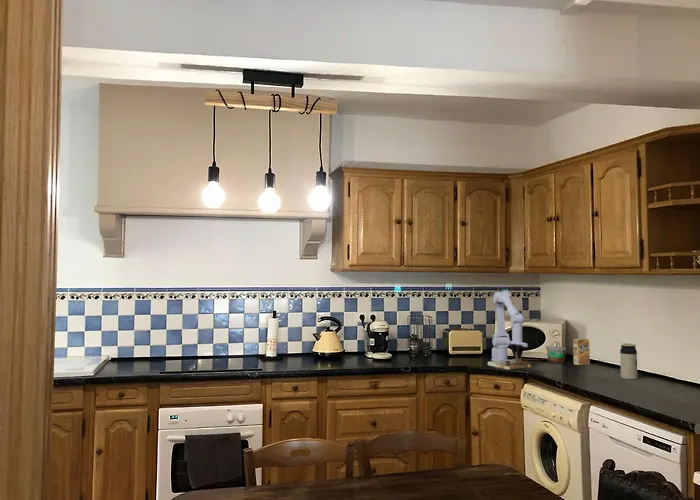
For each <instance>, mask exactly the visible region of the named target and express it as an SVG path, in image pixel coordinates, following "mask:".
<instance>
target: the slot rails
mask: <svg viewBox="0 0 700 500" xmlns="http://www.w3.org/2000/svg"><path fill="white" fill-rule="evenodd" d="M495 368H500V369H504V370H511V369H510V367H508V366H504V365H501V364H496V367H495ZM527 368H531V364H528V367H527Z"/></svg>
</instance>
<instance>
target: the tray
mask: <svg viewBox="0 0 700 500" xmlns="http://www.w3.org/2000/svg"><path fill="white" fill-rule="evenodd" d="M509 360H510V361H511V360H512V359H509ZM496 364H499V365H501V360H500V361H493V360H491V361H487V366H491V367H495V368H497V367H496Z"/></svg>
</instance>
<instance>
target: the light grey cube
mask: <svg viewBox="0 0 700 500" xmlns="http://www.w3.org/2000/svg"><path fill="white" fill-rule="evenodd" d="M510 360H511V359H507V360H501V364H500V365H504V366H508V367H510V363H511V361H510Z"/></svg>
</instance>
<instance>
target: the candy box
mask: <svg viewBox="0 0 700 500" xmlns="http://www.w3.org/2000/svg"><path fill="white" fill-rule="evenodd" d="M572 342H573V343H572V347H573V349H572V350H573V365H576V366H580V365H581V366H584V365H586V366H587V365H590V363H591V362H590V360H591V358H590V357H591V356H590V339H588V338H574V339H572Z"/></svg>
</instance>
